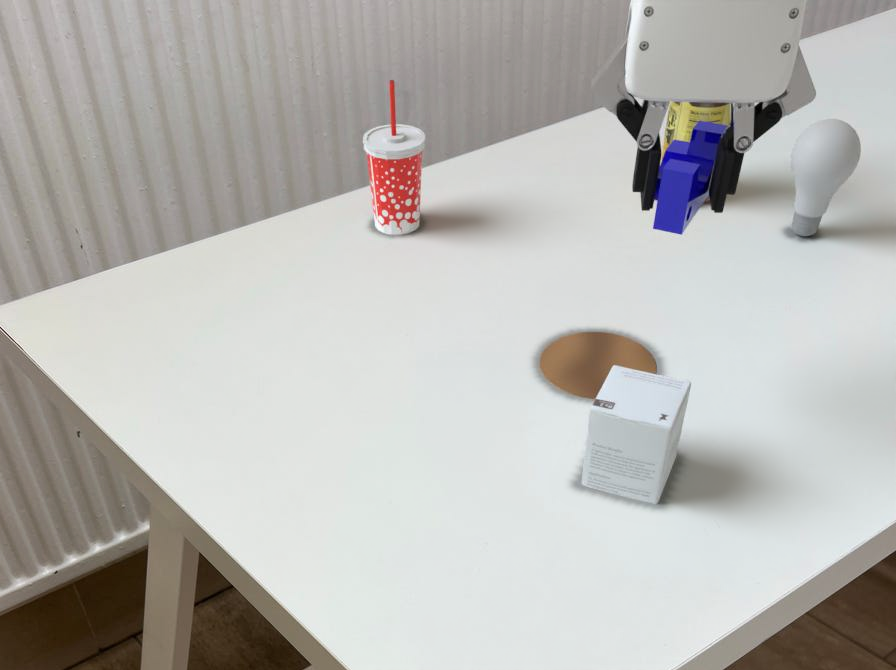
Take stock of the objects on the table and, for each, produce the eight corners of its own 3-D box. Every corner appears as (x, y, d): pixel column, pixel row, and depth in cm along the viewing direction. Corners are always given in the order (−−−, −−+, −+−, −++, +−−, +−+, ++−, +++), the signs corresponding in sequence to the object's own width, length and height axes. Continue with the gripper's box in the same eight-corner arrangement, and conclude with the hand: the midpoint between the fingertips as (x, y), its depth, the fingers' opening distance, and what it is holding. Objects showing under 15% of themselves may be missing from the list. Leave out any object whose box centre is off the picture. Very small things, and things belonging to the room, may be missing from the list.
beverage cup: (438, 230, 100) (437, 84, 89) (387, 247, 98) (380, 99, 88) (407, 207, 104) (402, 63, 93) (357, 223, 102) (347, 77, 91)
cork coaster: (634, 329, 88) (635, 325, 87) (671, 394, 81) (672, 390, 81) (527, 342, 87) (527, 338, 86) (555, 409, 80) (556, 405, 80)
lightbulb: (773, 218, 100) (803, 104, 92) (835, 226, 99) (871, 112, 90) (767, 246, 96) (797, 131, 88) (831, 255, 95) (868, 139, 87)
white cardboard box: (676, 459, 76) (694, 379, 70) (656, 508, 72) (674, 428, 67) (600, 441, 77) (612, 361, 72) (577, 488, 74) (588, 408, 68)
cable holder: (667, 175, 70) (678, 116, 67) (715, 184, 69) (727, 125, 66) (631, 224, 66) (640, 163, 63) (681, 234, 65) (693, 174, 62)
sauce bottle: (664, 178, 106) (700, -34, 91) (721, 189, 105) (767, -27, 89) (646, 204, 103) (681, -13, 88) (704, 216, 101) (750, -4, 86)
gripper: (886, -145, 55) (797, 181, 69) (587, -144, 56) (559, 175, 70) (915, -110, 50) (813, 233, 64) (587, -110, 51) (557, 225, 65)
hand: (680, 199), depth 67 cm, fingers closed on cable holder, 4 cm apart
